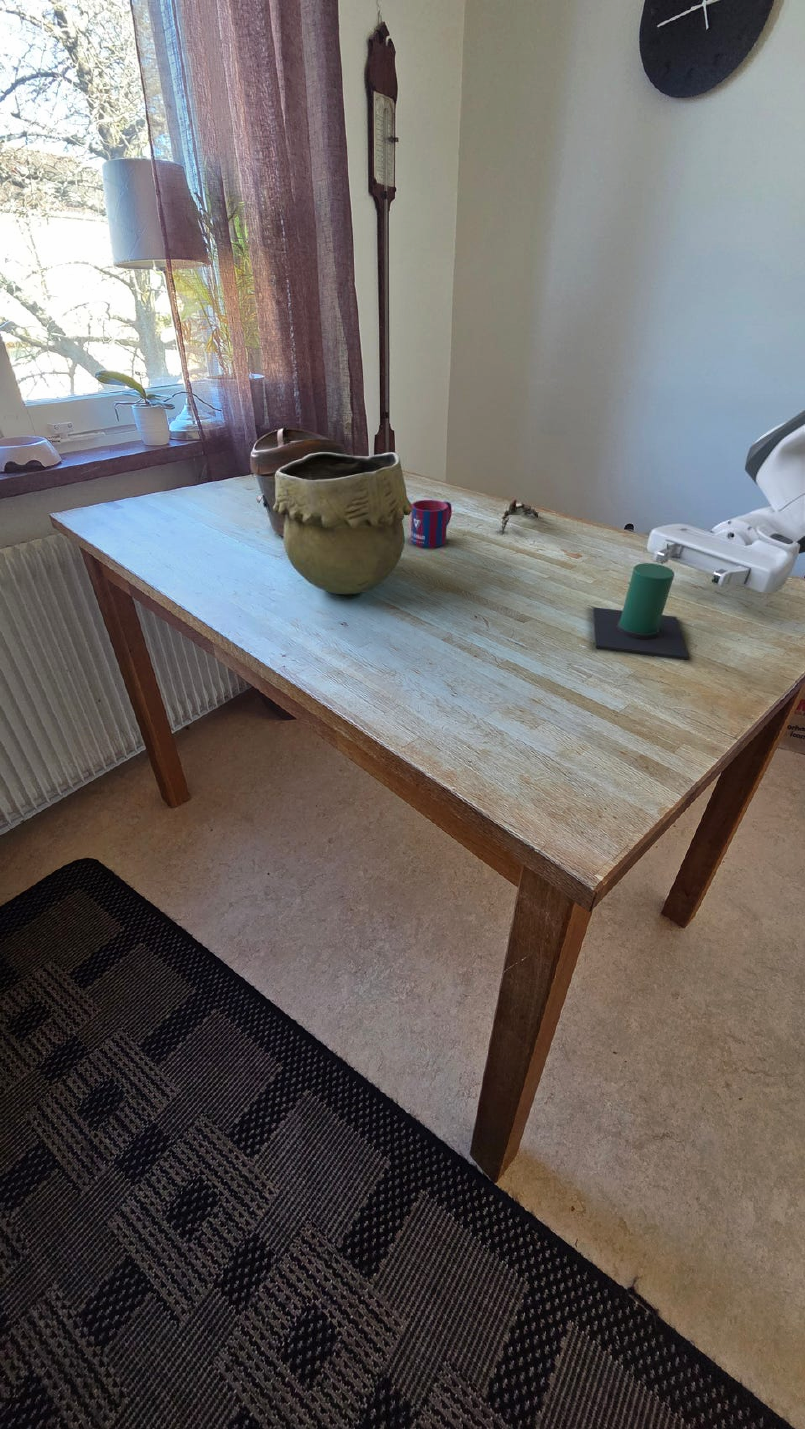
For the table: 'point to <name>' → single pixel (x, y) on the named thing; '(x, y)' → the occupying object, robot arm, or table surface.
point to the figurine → (516, 512)
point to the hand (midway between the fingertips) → (686, 568)
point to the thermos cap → (645, 601)
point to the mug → (429, 523)
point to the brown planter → (284, 462)
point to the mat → (661, 645)
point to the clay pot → (343, 518)
